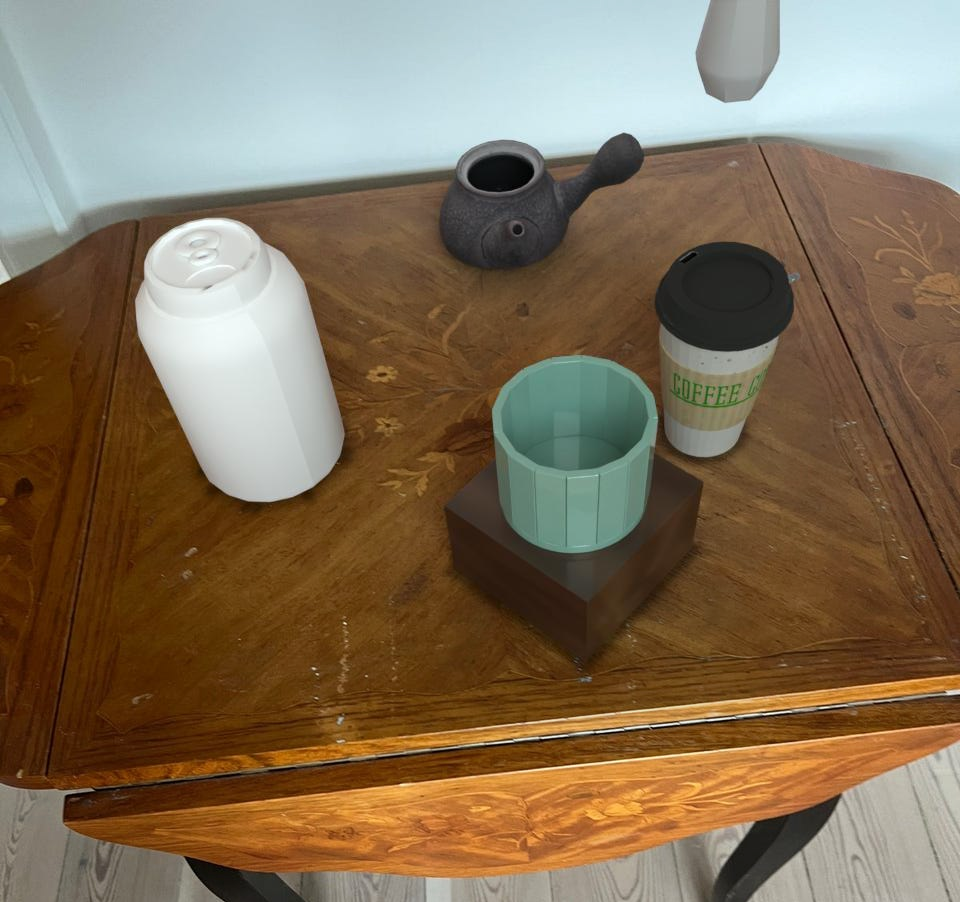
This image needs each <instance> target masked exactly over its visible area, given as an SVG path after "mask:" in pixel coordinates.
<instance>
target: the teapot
mask: <svg viewBox="0 0 960 902" xmlns="http://www.w3.org/2000/svg"><path fill="white" fill-rule="evenodd" d="M644 161H645V153H644V150H643V149H642V146H641V144H640V141H638V139H637V138H636V137H635V136H634V135H632V134H631V133H627V132H622V133H618V134H617V135H613V136H612V137H610V138H609V139H608V140H607V141H605V142H604V143H603V144H602V145H601V147H600V148H599V149H598V151H597V152H596V154H595V156H594V158H593V160H592V161H591V162H590V164H589V165H588V166H587V168H585V169H584V170H583V171H582V172H581V173H579V174H577V175H575V176H571V177H568V178H565V179H563V180H561V181H560V182H559V181H556V180H555V179H554V177H553V175H552V174H551V173H550V171H548V169H547V167H546V161H545V158H544V156H543V155H542V153H541V152H540V151H539V150H538V149H537V148H535V147H533V146H532V145H530V144H528V143H526V142H522V141H518V140H515V139H497V140H489V141H486V142H482V143H480V144H477V145H475V146H473V147H471V148H470V149H469V150H467V151H466V152H465V153H463V154H462V155H461V156H460V158H459V159H458V160H457V163H456V166H455V176H454V177H453V179H452V181H451V183H450V184H449V186H448V188H447V190H446V191H445V194H444V195H443V196H444V197H443V199H442V202H441V206H440V210H439V216H438V226H439V227H438V229H439V234H440V237H441V241H442V242H443V244H444V246H445V248H446V249H447V251H448V252H449V253H450V254H451V255H452V256H453V257H454V258H456V259H457V260H458V261H460V262H462V263H464V264H466V265H469V266H472V267H476V268H480V269H483V270H494V271H502V270H514V269H519V268H523V267H527V266H529V265H532V264H535V263H538V262H539V261H542V260H544V259H545V258H547V257H549V256H550V255H551V254H552V253H553V252H554V251H556V250H557V249H558V248H559V246H561V243H562V242H563V241H564V239H565V236H566V233H567V231H568V227H569V224H570V223H569V222H570V218H571V217H572V215H573V214H574V213H575V212H576V211H578V210H579V208H581V207H582V205H583V204H584V203H585V202H586V201H587V200H588V198H589V196H590V195H591V194H592V193H593V192H595V191H597V190H599V189H603V188H607V187H611V186H617V185H618V186H619V185H621V184H624V183H626V182H627V181H628V180H630V179H632V178H633V177H634V176H635V175H636V174H637V173H638V172H639V171H640V170H641V168H642V166H643V163H644Z"/></svg>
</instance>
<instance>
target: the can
mask: <svg viewBox="0 0 960 902" xmlns="http://www.w3.org/2000/svg"><path fill="white" fill-rule="evenodd" d="M147 251H148V252H147V254H146V257H145V259H144V263H143V277H144V279H143V280H142V282H141V284H140V286H139V289H138V291H137V294H136V298H135V300H134V304H135V305H134V306H135V319H136V327H137V335H138V338H139V340H140V343H141V344H142V347H143V348H144V351H145V353H146V355H147V357H148V360H149V361H150V363H151V365H152V367H153V371H154V372H155V374H156V376H157V378H158V380H159V382H160V385H161V386H162V389H163V391H164V393H165V396H166V397H167V399H168V401H169V404H170V406H171V407H172V410H173V411H174V414H175V415H176V418H177V420H178V422H179V424H180V426H181V428H182V431H183V433H184V435H185V437H186V439H187V441H188V444H189V445H190V447H191V450H192V452H193V454H194V456H195V458H196V460H197V462H198V465H199V466H200V468H201V470H202V472H203V474H204V475H205V476H206V478H207V480H208V482H209V483H210V484H212V485H213V486H215V487H216V488H218V489H219V490H221V491H222V492H223V493H224V494H226V495H227V496H230V497H233V498H236V499H239V500H242V501H246V502H255V503H256V502H257V503H271V502H272V503H273V502H276V501H281V500H287V499H291V498H294V497H295V496H298V495H301V494H302V493H304V492H306V491H308V490H310V489H313V488H314V487H315V486H316V485H317V484H318V483H320V482H321V481H323V479H324V478H326V476H328V475H329V474H330V473H331V471H332V469H333V468H334V467H335V465H336V463H337V462H338V460H339V458H340V456H341V454H342V451H343V445H344V440H345V436H346V433H345V428H344V424H343V419H342V415H341V410H340V408H339V404H338V400H337V397H336V393H335V388H334V386H333V382H332V378H331V375H330V371H329V368H328V363H327V361H326V357H325V353H324V349H323V345H322V342H321V339H320V338H321V337H320V335H319V331H318V328H317V324H316V320H315V316H314V312H313V309H312V306H311V302H310V299H309V294H308V291H307V288H306V284H305V281H304V280H303V278H302V277H301V275H300V274H299V272H298V271H297V269H296V267H295V266H294V265H293V264H292V262H291V260H290V259H289V258H288V257H287V256H286V255H285V253H284V252H283V251H281V250H278V249H277V248H276V247H273V246H271V245H270V244H269V243H266V242H264V241H263V240H262V238H261V237H260V236H259V235H258V234H257V233H256V231H255V230H254V229H252V227H250V226H248V225H247V224H245V223H243V222H242V221H239V220H235V219H231V218H228V217H227V218H226V217H205V218H200V219H196V220H190V221H187V222H184V223H183V224H180V225H178V226H176V227H173V228H172V229H170V230H168V231H167V232H166V233H164V234H163V235H161V236H159V238H158V239H157V240H156V241H155V242H154V243H153V244H152V246H150V248H149V249H148V250H147Z"/></svg>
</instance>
